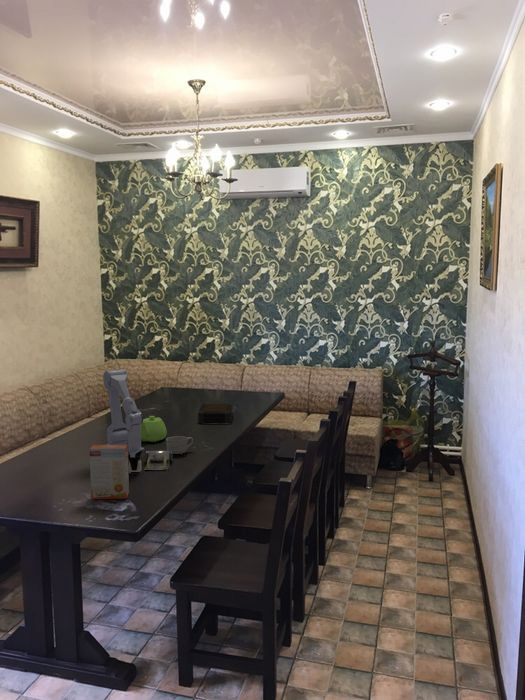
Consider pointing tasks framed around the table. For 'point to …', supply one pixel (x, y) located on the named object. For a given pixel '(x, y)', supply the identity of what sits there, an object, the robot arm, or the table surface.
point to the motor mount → (158, 459)
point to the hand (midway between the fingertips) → (135, 468)
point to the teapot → (153, 429)
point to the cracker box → (109, 471)
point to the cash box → (215, 413)
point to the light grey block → (137, 467)
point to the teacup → (178, 444)
